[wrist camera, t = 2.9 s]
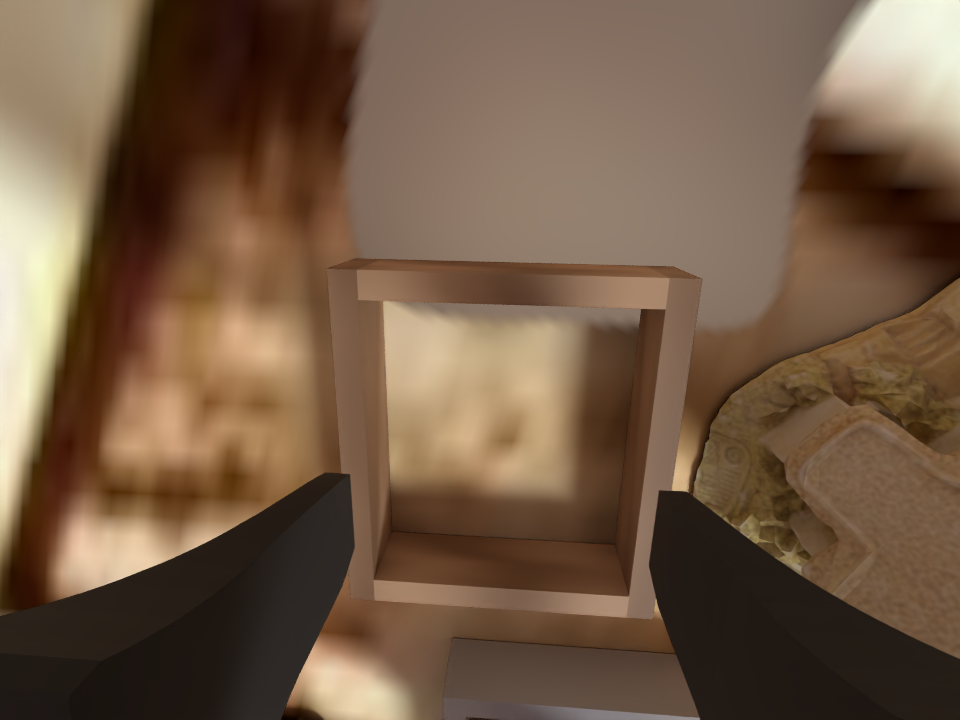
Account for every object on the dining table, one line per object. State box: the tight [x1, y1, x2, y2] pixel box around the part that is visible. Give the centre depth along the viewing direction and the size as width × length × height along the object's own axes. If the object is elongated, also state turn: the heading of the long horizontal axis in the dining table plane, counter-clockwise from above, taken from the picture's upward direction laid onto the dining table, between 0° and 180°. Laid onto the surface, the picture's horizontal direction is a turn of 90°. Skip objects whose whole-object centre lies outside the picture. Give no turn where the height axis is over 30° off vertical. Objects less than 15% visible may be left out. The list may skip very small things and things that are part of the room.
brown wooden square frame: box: [327, 259, 702, 619], centre depth 16 cm, size 10×11×2 cm
